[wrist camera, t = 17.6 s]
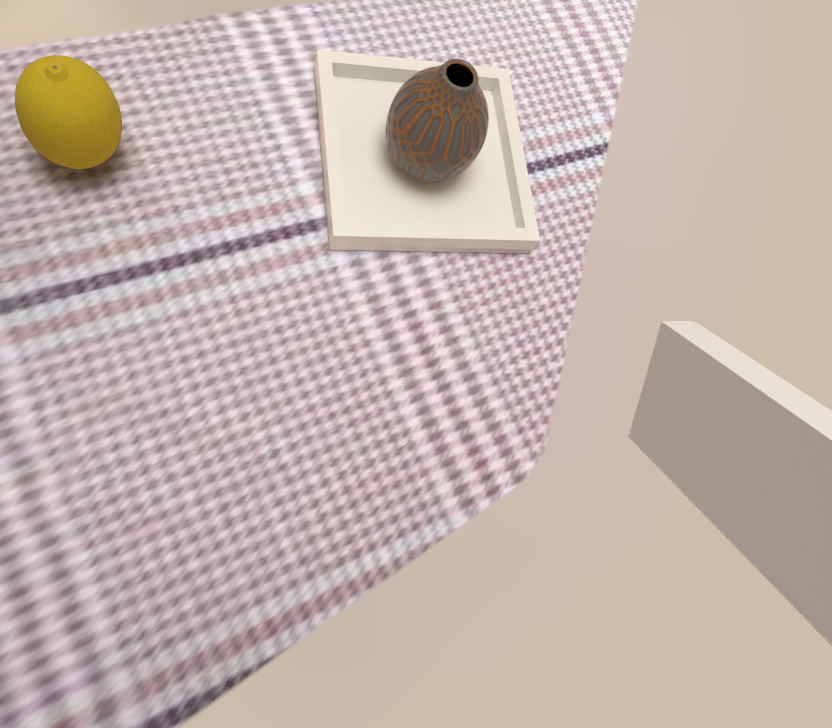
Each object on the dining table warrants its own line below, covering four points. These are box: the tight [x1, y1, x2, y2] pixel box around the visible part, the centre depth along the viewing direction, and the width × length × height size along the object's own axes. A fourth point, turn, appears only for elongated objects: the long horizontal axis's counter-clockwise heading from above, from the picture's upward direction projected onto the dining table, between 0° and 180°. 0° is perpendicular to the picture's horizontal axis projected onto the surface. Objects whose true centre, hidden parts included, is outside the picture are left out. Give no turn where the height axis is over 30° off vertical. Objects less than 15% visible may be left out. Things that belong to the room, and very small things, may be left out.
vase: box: [386, 59, 489, 183], centre depth 46 cm, size 7×7×9 cm
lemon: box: [15, 55, 122, 169], centre depth 40 cm, size 6×6×8 cm
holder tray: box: [314, 50, 540, 253], centre depth 49 cm, size 15×15×2 cm
